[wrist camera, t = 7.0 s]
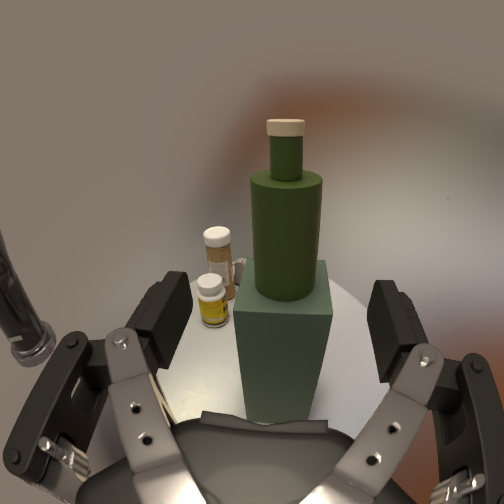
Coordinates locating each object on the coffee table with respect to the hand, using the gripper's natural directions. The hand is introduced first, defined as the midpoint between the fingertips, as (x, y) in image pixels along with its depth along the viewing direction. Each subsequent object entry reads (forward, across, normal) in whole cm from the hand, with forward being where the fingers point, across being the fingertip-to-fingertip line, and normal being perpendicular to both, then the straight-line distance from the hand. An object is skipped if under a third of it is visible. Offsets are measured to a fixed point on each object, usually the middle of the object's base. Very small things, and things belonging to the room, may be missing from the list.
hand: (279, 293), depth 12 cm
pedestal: (+10, 0, +27) cm, 29 cm away
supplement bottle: (+25, +12, +27) cm, 39 cm away
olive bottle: (+10, 0, +7) cm, 12 cm away
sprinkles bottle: (+32, +12, +27) cm, 43 cm away
